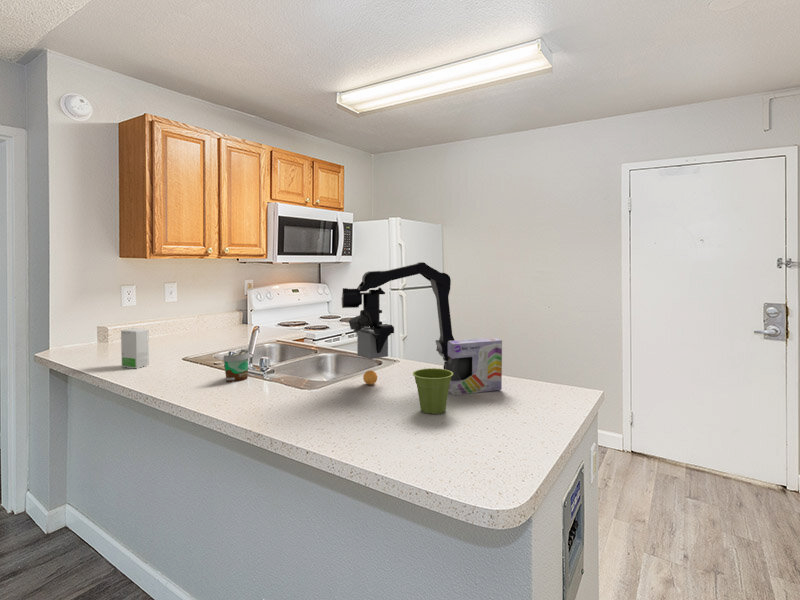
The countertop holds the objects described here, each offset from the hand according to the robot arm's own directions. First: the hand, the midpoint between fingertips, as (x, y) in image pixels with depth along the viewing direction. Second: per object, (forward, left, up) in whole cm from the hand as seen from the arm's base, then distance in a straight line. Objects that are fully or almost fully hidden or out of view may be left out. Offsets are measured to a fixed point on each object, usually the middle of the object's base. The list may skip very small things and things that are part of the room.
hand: (371, 351), depth 158 cm
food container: (+37, +33, -12) cm, 51 cm away
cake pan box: (-29, -21, -12) cm, 38 cm away
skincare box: (+85, +59, -12) cm, 104 cm away
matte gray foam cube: (0, 0, -2) cm, 2 cm away
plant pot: (-34, +3, -12) cm, 36 cm away
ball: (0, +1, -10) cm, 10 cm away
